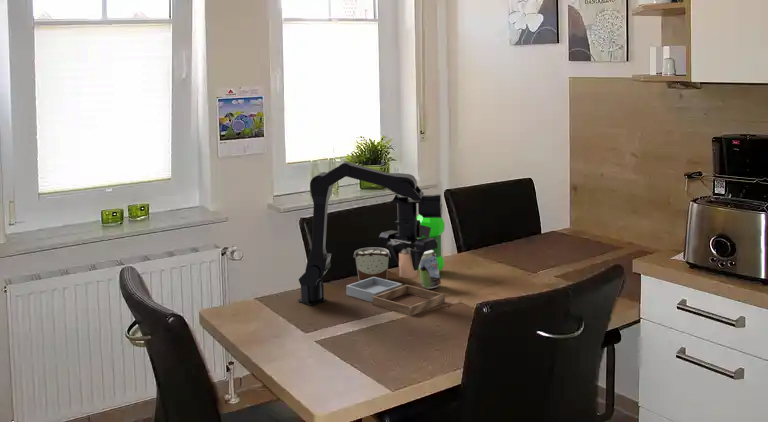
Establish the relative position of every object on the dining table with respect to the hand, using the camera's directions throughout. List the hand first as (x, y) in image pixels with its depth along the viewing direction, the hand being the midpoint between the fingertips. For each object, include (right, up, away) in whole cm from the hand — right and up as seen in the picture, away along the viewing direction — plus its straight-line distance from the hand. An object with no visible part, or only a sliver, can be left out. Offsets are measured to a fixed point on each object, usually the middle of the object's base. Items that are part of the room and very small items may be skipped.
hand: (408, 268), depth 238 cm
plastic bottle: (+8, -4, +33) cm, 34 cm away
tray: (-10, -9, +12) cm, 18 cm away
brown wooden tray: (0, -11, +2) cm, 11 cm away
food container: (-11, -6, +29) cm, 31 cm away
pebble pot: (0, -2, 0) cm, 2 cm away
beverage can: (+7, -7, +17) cm, 20 cm away
